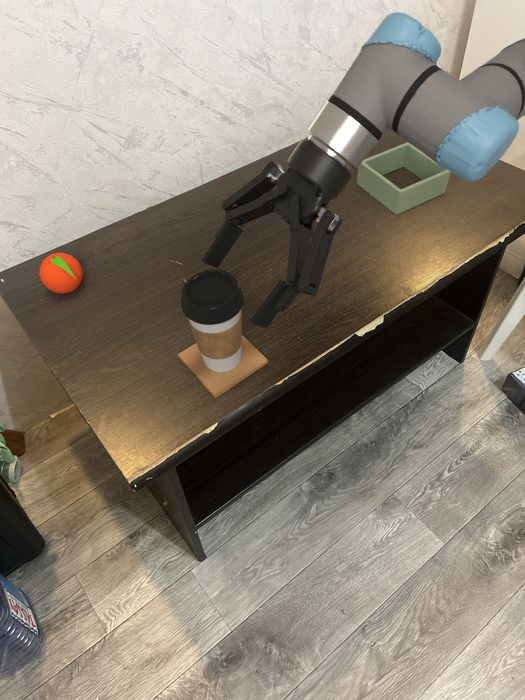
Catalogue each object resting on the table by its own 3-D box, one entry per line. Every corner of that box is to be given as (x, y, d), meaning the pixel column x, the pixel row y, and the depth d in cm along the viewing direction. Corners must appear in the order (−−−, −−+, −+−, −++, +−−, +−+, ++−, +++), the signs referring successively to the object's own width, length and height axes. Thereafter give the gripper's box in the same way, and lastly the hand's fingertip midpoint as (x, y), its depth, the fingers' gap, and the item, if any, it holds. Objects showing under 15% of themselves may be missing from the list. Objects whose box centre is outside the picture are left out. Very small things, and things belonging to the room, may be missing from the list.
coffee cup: (185, 371, 75) (166, 302, 64) (208, 330, 80) (194, 259, 68) (237, 385, 73) (227, 318, 62) (257, 343, 78) (251, 272, 66)
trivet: (268, 362, 77) (268, 359, 76) (215, 398, 73) (214, 395, 73) (229, 325, 82) (229, 322, 81) (178, 357, 78) (177, 354, 78)
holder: (445, 192, 101) (451, 170, 97) (396, 214, 97) (400, 192, 93) (403, 163, 107) (407, 142, 104) (356, 183, 104) (358, 161, 100)
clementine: (100, 286, 89) (87, 256, 83) (69, 310, 86) (53, 280, 80) (71, 268, 92) (56, 238, 86) (40, 291, 89) (23, 260, 83)
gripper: (413, 217, 56) (300, 357, 64) (291, 125, 70) (210, 249, 77) (382, 193, 50) (262, 349, 58) (256, 98, 64) (172, 234, 72)
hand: (232, 292), depth 68 cm, fingers open, 13 cm apart
